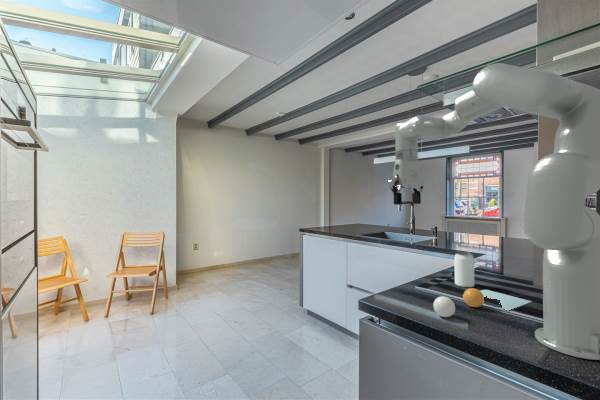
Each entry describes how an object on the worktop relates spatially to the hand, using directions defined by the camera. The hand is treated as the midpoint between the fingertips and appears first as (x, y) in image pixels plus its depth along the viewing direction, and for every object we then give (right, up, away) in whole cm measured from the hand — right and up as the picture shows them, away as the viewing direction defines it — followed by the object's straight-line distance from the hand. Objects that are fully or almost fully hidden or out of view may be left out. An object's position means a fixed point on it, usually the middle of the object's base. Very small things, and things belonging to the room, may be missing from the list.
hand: (407, 204), depth 103 cm
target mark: (+25, -31, -11) cm, 41 cm away
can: (+23, -31, +4) cm, 39 cm away
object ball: (+14, -28, -16) cm, 36 cm away
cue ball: (+2, -29, -23) cm, 37 cm away
